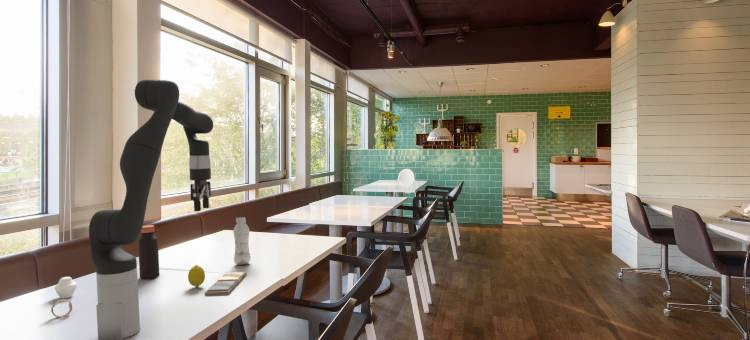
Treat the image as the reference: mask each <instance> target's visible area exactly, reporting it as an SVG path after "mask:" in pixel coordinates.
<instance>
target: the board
mask: <svg viewBox="0 0 750 340" xmlns="http://www.w3.org/2000/svg"><path fill="white" fill-rule="evenodd" d="M246 277H247V272H244V271H240V272H239V271H238V272H237V271H236V272H234V271H233V272H225V273H224V274H223V275H222V276H221V277H220V278H219V279H217V281H215V282H214V283H213V284H212V285H211V286H209V288H207V290H206V291H205V292H204V296H223V295H224V296H227V295H230V294H232V292H233V290H235V288H237V286H238V285H239V284H240V283H241V282H242V281H243V280H244V278H246Z"/></svg>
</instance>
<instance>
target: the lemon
mask: <svg viewBox="0 0 750 340" xmlns="http://www.w3.org/2000/svg"><path fill="white" fill-rule="evenodd" d="M187 279H188V283H189V284H190V285H191V286H194V287H195V288H199V286H201V285H202V284H204V282H205V279H206V274H205V270H204V268H203V267H202V266H199V265H197V264H196V265H194V266H192V267H190V269H189V271H188V275H187Z"/></svg>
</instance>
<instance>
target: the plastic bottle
mask: <svg viewBox="0 0 750 340" xmlns="http://www.w3.org/2000/svg"><path fill="white" fill-rule="evenodd" d="M235 223H236V224H235V226H234V228H233V231H232V232H233V238H234V246H235V247H234V256H233V262H234V263H235V265H236V266H237V265H238V266H239V265H240V266H244V265H248V264H249V263H250V261H251V253H250V247H249V238H250V227H249V226H248V224H246V223H247V220H246V217H244V216H243V217H241V216H239V217H236V218H235Z"/></svg>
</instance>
